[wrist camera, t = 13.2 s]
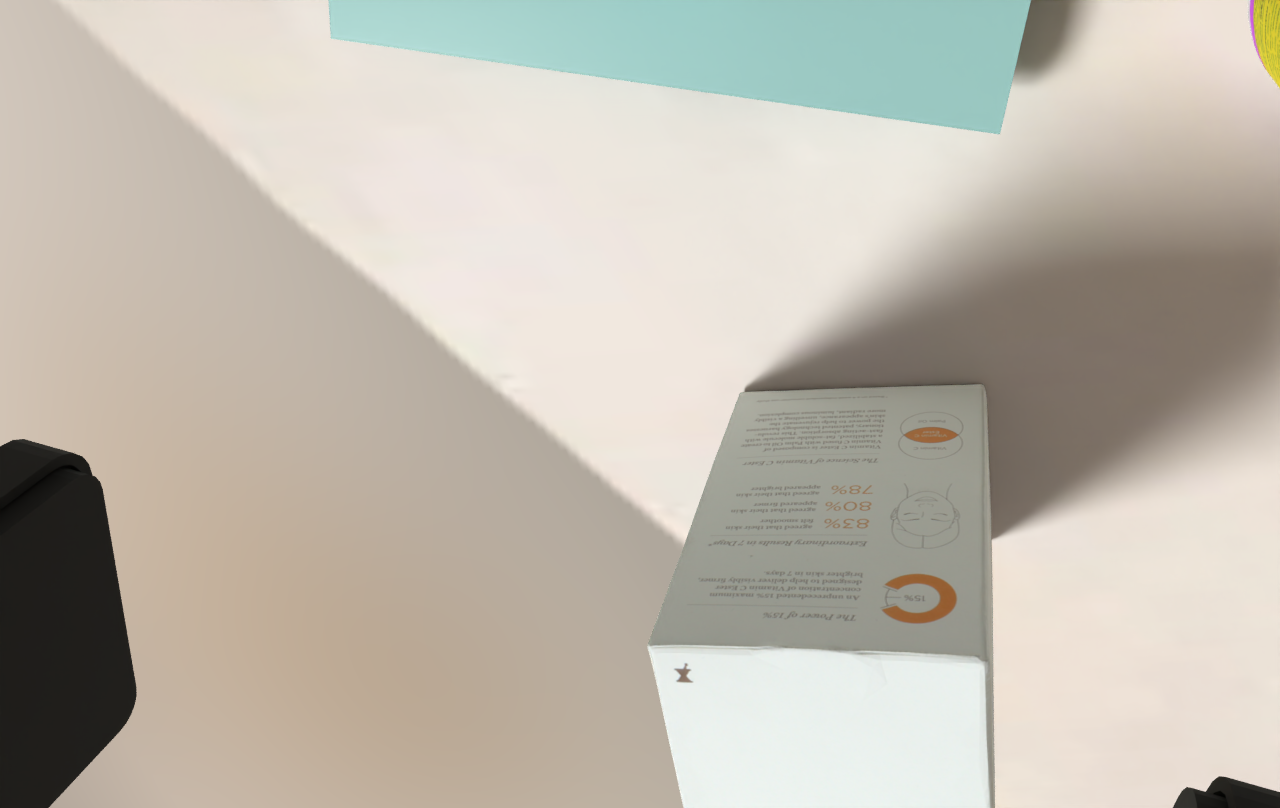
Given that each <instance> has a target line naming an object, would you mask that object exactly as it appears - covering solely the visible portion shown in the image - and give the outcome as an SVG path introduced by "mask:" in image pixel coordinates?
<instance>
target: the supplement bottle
mask: <svg viewBox="0 0 1280 808" xmlns="http://www.w3.org/2000/svg"><path fill="white" fill-rule="evenodd" d="M1248 20H1249V25H1250V31H1251V35H1252V39H1253V42H1254V45H1255V48H1256V51H1257V53H1258V56H1259V58H1260V60H1261V62H1262V64H1263V66H1264V67H1265V69H1266V70H1267V72H1268V73H1269V75H1270V76H1271V78H1272V79H1273V81H1274V82H1275V83H1276V85H1277V86H1278V87H1279V89H1280V0H1248Z"/></svg>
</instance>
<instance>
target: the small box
mask: <svg viewBox="0 0 1280 808" xmlns="http://www.w3.org/2000/svg"><path fill="white" fill-rule="evenodd" d="M648 651H649V654H650V658H651V662H652V666H653V670H654V674H655V679H656V683H657V687H658V691H659V696H660V700H661V705H662V710H663V715H664V719H665V724H666V728H667V734H668V738H669V743H670V748H671V752H672V757H673V761H674V765H675V770H676V775H677V779H678V784H679V789H680V794H681V798H682V803H683V807H684V808H995V768H994V695H993V594H992V538H991V503H990V474H989V445H988V415H987V396H986V390H985V387H984V386H983V385H982V384H972V385H939V386H905V387H874V388H841V389H814V390H790V391H758V392H742V393H740V394H739V397H738V400H737V402H736V404H735V407H734V410H733V413H732V415H731V418H730V421H729V424H728V427H727V429H726V432H725V434H724V437H723V439H722V442H721V445H720V447H719V450H718V452H717V455H716V458H715V460H714V463H713V466H712V469H711V471H710V474H709V477H708V480H707V482H706V485H705V488H704V491H703V494H702V497H701V499H700V502H699V505H698V508H697V511H696V513H695V516H694V519H693V522H692V525H691V528H690V530H689V533H688V536H687V539H686V542H685V545H684V547H683V550H682V553H681V556H680V558H679V561H678V564H677V566H676V569H675V572H674V574H673V577H672V580H671V582H670V585H669V588H668V591H667V594H666V596H665V599H664V602H663V604H662V607H661V610H660V612H659V615H658V618H657V621H656V623H655V626H654V629H653V632H652V635H651V637H650V640H649V643H648Z"/></svg>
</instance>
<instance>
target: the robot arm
mask: <svg viewBox="0 0 1280 808" xmlns="http://www.w3.org/2000/svg"><path fill="white" fill-rule="evenodd" d="M135 700H136V683H135V677H134V671H133V665H132V659H131V654H130V648H129V643H128V636H127V630H126V624H125V618H124V613H123V606H122V600H121V595H120V589H119V583H118V577H117V571H116V566H115V560H114V553H113V548H112V542H111V536H110V530H109V524H108V518H107V513H106V506H105V500H104V495H103V489H102V486H101V483H100V481H98V479H97V478H96V477H95V476H92V472H91V470H90V467H89V464H88V463H87V461H86V460H85V459H84V458H83V457H82V456H80V455H77V454H74V453H71V452H67V451H64V450H60V449H57V448H53V447H50V446H46V445H43V444H39V443H35V442H32V441H28V440H25V439H20V440H12V441H10V442H8V443H6V444H4V445H2V446H0V808H49V807H50V806H51V804H52V803H53V802H54V801H55V800H56V799H57V798H58V797H59V796H60V795H61V794H62V793H63V792H64V790H65V789H66V788H67V787H68V786H69V785H70V784H71V783H72V782H73V781H74V780H75V779H76V778H77V777H78V776H79V774H80V773H81V772H82V771H83V770H84V769H85V768H86V767H87V766H88V765H89V764H90V762H92V761H93V759H94V758H95V757H96V756H97V755H98V754H99V753H100V752H101V751H102V750H103V749H104V748H105V747H106V746H107V744H108V743H109V742H110V741H111V740H112V739H113V738H114V737H115V736H116V735H117V734H118V733H119V732H120V730H121V729H122V728H123V726H124V725H125V724H126V722H127V721H128V719H129V717H130V715H131V713H132V710H133V708H134V705H135ZM1173 808H1280V792H1277V791H1273V790H1270V789H1266V788H1263V787H1259V786H1255V785H1252V784H1248V783H1245V782H1241V781H1238V780H1234V779H1231V778H1227V777H1220V776H1219V777H1218V778H1216V779H1215V780H1214V781H1213V782H1212V783H1211V785H1210V786H1209V788H1208V789H1207V791H1206V792H1204V791H1200V790H1197V789H1193V788H1188V787H1187V788H1185V789H1184V790H1183V791H1182V792H1181V794H1180V795H1179V797H1178V798H1177V801H1176V803H1175V805H1174V807H1173Z"/></svg>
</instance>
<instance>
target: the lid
mask: <svg viewBox="0 0 1280 808" xmlns="http://www.w3.org/2000/svg"><path fill="white" fill-rule="evenodd" d="M1030 2H1031V0H329V15H330V30H331V39H338V40H345V41H352V42H359V43H366V44H373V45H380V46H387V47H394V48H401V49H408V50H415V51H422V52H429V53H436V54H443V55H450V56H456V57H463V58H470V59H477V60H484V61H491V62H498V63H505V64H512V65H519V66H526V67H533V68H540V69H547V70H554V71H561V72H568V73H575V74H582V75H589V76H596V77H603V78H610V79H617V80H624V81H631V82H638V83H645V84H652V85H659V86H666V87H673V88H680V89H687V90H694V91H701V92H708V93H715V94H722V95H729V96H736V97H743V98H750V99H757V100H764V101H771V102H778V103H785V104H792V105H799V106H806V107H813V108H820V109H827V110H834V111H841V112H848V113H855V114H862V115H869V116H876V117H883V118H890V119H897V120H904V121H911V122H918V123H925V124H932V125H939V126H946V127H953V128H960V129H967V130H974V131H981V132H988V133H994V134H1000V131H1001V127H1002V123H1003V118H1004V114H1005V110H1006V106H1007V101H1008V97H1009V93H1010V88H1011V84H1012V80H1013V75H1014V71H1015V67H1016V63H1017V58H1018V54H1019V50H1020V45H1021V41H1022V37H1023V33H1024V28H1025V24H1026V20H1027V15H1028V11H1029V7H1030Z"/></svg>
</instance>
